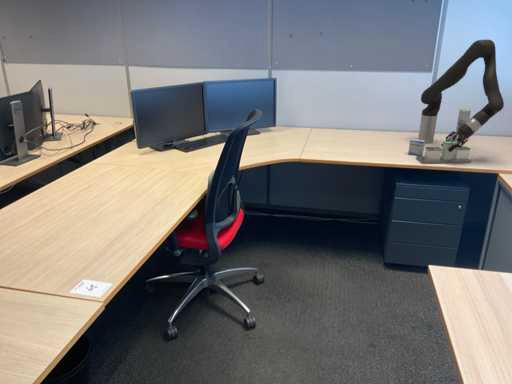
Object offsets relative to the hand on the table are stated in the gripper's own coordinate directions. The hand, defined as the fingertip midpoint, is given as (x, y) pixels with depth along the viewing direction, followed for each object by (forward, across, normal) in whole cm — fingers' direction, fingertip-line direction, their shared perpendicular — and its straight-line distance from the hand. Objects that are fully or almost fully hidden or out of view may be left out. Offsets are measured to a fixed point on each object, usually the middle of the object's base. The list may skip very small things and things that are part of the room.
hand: (445, 148), depth 235 cm
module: (+3, 0, +5) cm, 6 cm away
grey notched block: (+5, 0, +5) cm, 7 cm away
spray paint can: (-16, -41, +26) cm, 51 cm away
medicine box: (+13, -13, -2) cm, 18 cm away
